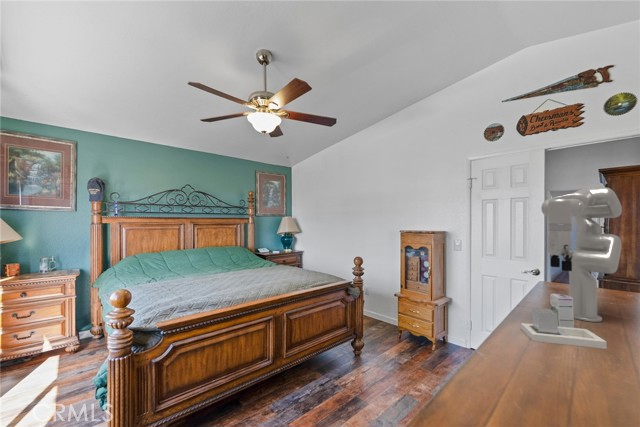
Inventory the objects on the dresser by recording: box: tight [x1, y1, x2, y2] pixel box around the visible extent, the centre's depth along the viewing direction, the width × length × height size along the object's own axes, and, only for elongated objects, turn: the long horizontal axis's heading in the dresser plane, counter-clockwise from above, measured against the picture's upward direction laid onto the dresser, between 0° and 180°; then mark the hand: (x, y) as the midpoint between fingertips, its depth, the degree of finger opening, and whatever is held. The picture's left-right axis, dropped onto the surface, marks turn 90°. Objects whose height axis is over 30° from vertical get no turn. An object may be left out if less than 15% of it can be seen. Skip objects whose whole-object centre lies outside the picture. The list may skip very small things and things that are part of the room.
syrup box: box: [549, 293, 575, 328], centre depth 119 cm, size 6×6×14 cm
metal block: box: [531, 307, 558, 335], centre depth 110 cm, size 6×6×10 cm
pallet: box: [520, 322, 608, 350], centre depth 109 cm, size 12×22×4 cm, turn 72°
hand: (560, 268), depth 120 cm, fingers open, 9 cm apart
